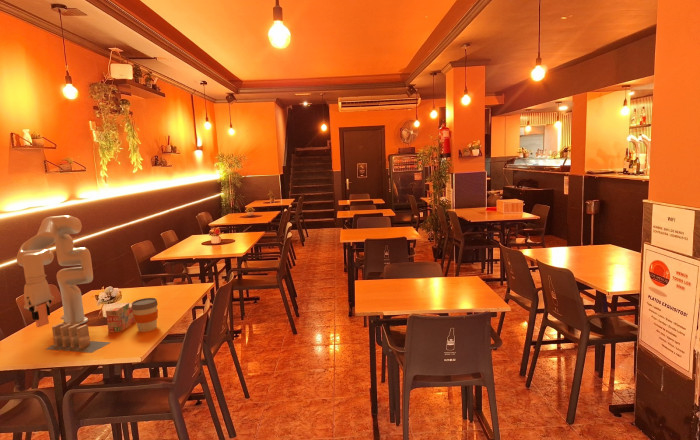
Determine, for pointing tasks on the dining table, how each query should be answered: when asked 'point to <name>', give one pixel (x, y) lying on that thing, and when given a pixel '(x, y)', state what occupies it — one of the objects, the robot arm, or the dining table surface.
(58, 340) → the cream domino
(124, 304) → the stack of blocks
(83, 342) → the cream domino
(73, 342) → the cream domino
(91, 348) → the slate mat
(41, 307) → the terracotta domino
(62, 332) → the cream domino
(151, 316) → the reusable coffee cup
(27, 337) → the dining table surface
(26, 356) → the dining table surface
